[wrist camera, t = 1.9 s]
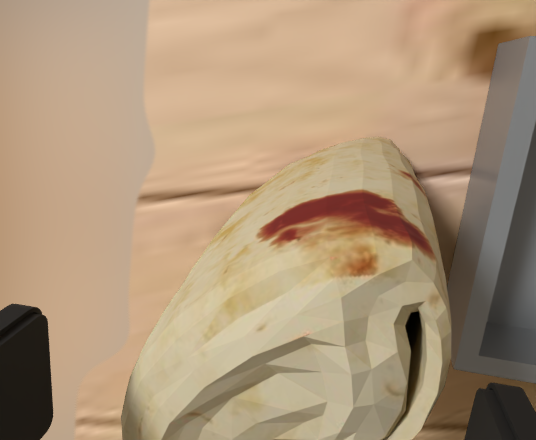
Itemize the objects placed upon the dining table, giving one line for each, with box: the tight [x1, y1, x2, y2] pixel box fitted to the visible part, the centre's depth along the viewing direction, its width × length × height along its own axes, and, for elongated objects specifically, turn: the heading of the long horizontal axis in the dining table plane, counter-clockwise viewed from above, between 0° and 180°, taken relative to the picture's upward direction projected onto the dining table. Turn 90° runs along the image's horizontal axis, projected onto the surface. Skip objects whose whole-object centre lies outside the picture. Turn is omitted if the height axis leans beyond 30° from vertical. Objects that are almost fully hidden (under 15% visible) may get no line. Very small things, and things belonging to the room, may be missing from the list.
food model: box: [121, 137, 451, 440], centre depth 19 cm, size 10×7×20 cm
